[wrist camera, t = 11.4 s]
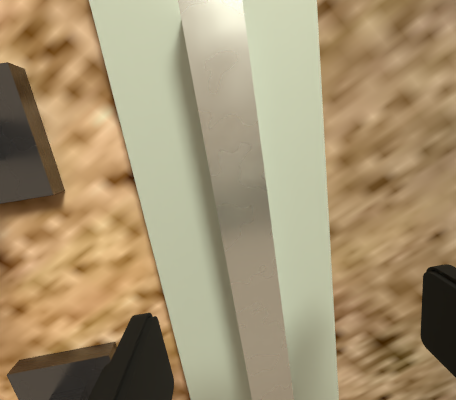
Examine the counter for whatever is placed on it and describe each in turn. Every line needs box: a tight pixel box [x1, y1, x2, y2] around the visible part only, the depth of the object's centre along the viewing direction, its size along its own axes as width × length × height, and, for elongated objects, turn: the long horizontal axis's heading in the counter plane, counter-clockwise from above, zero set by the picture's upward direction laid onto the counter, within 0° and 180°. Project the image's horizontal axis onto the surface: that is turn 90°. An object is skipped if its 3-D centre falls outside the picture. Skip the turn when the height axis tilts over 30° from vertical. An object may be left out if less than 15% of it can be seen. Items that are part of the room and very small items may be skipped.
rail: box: [178, 0, 294, 400], centre depth 13 cm, size 2×24×2 cm, turn 9°
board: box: [89, 0, 339, 400], centre depth 14 cm, size 10×28×1 cm, turn 9°
